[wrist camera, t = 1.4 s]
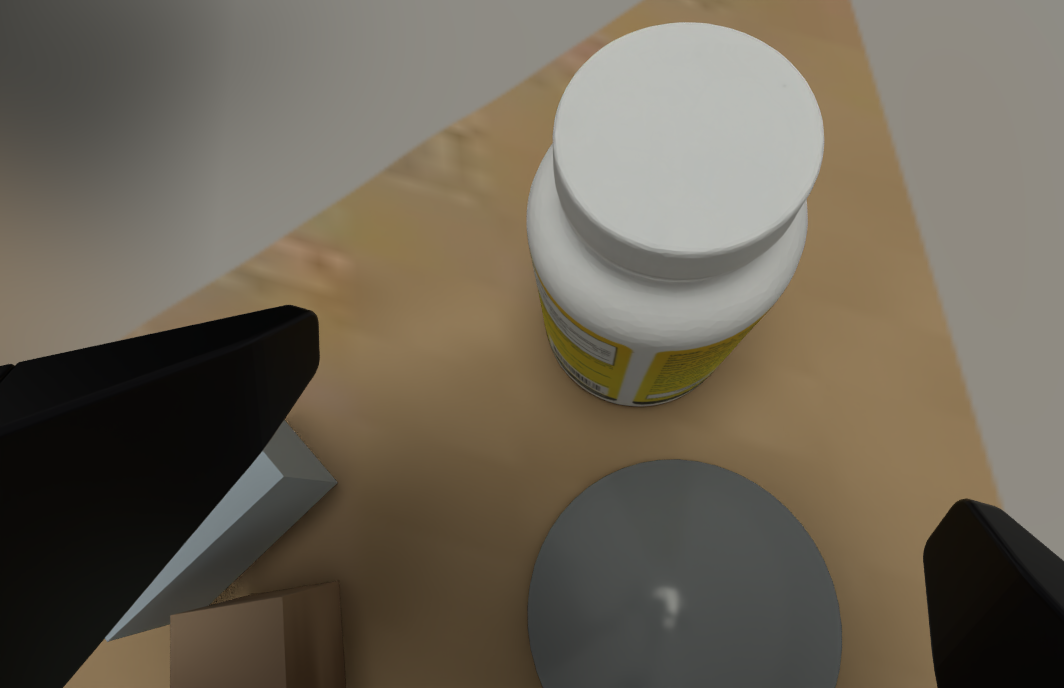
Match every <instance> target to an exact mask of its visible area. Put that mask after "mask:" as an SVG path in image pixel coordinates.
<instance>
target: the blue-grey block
mask: <svg viewBox="0 0 1064 688" xmlns="http://www.w3.org/2000/svg"><path fill="white" fill-rule="evenodd" d="M337 483H338V482H337V481H336V480H335V479H334V478H333V476H332V475H331V474H330V473H329V472H328V470H327V469H326V468H325V467H324V466H323V465H322V463H321V462H320V461H319V460H318V459H317V458H316V456H315V455H314V454H313V453H312V452H311V451H310V449H309V448H308V447H307V446H306V445H305V443H304V442H303V441H302V440H301V439H300V438H299V436H298V435H297V434H296V433H295V432H294V431H293V429H292V428H291V427H290V426H289V425H288V424H287V422H286V421H285V420H284V421H283V422H282V424H281V425H280V427H279V428H278V430H277V431H276V433H275V434H274V436H273V437H272V439H271V440H270V441H269V443H268V444H267V446H266V447H265V448H264V450H263V451H262V452H261V454H260V455H259V456H258V457H257V459H256V460H255V461H254V462H253V463H252V465H251V466H250V467H249V468H248V469H247V471H246V472H245V473H244V474H243V475H242V477H241V478H240V479H239V480H238V481H237V482H236V484H235V485H234V486H233V487H232V488H231V490H230V491H229V492H228V493H227V494H226V495H225V497H224V498H223V499H222V500H221V501H220V503H219V504H218V505H217V506H216V507H215V508H214V510H213V511H212V512H211V513H210V514H209V516H208V517H207V518H206V519H205V520H204V521H203V523H202V524H201V525H200V526H199V527H198V529H197V530H196V531H195V532H194V533H193V534H192V536H191V537H190V538H189V539H188V540H187V542H186V543H185V544H184V545H183V546H182V547H181V549H180V550H179V551H178V552H177V553H176V555H175V556H174V557H173V558H172V559H171V560H170V562H169V563H168V564H167V565H166V566H165V568H164V569H163V570H162V571H161V572H160V573H159V575H158V576H157V577H156V578H155V579H154V581H153V582H152V583H151V584H150V585H149V587H148V588H147V589H146V590H145V591H144V592H143V594H142V595H141V596H140V597H139V598H138V600H137V601H136V602H135V603H134V604H133V605H132V607H131V608H130V609H129V610H128V611H127V613H126V614H125V615H124V616H123V617H122V618H121V620H120V621H119V622H118V623H117V624H116V626H115V627H114V628H113V629H112V630H111V631H110V633H109V634H108V635H107V636H106V637H105V639H106V641H107V642H108V641H112V640H115V639H119V638H122V637H126V636H130V635H133V634H137V633H140V632H144V631H147V630H151V629H155V628H158V627H162V626H165V625H169V624H170V615H173V614H177V613H181V612H185V611H189V610H193V609H197V608H201V607H205V606H208V605H209V604H211V603H212V602H213V601H214V600H215V599H216V598H217V597H218V596H219V595H220V594H221V593H222V592H223V591H224V590H225V589H226V588H227V587H228V586H229V585H231V584H232V583H233V582H234V581H235V580H236V579H237V578H238V577H239V576H240V575H241V574H242V573H243V572H244V571H245V570H246V569H247V568H248V567H249V566H251V565H252V564H253V563H254V562H255V561H256V560H257V559H258V558H259V557H260V556H261V555H262V554H263V553H264V552H265V551H266V550H267V549H268V548H269V547H270V546H272V545H273V544H274V543H275V542H276V541H277V540H278V539H279V538H280V537H281V536H282V535H283V534H284V533H285V532H286V531H287V530H288V529H289V528H290V527H292V526H293V525H294V524H295V523H296V522H297V521H298V520H299V519H300V518H301V517H302V516H303V515H304V514H305V513H306V512H307V511H308V510H309V509H310V508H312V507H313V506H314V505H315V504H316V503H317V502H318V501H319V500H320V499H321V498H322V497H323V496H324V495H325V494H326V493H327V492H328V491H329V490H330V489H331V488H333V487H334V486H335V485H336V484H337Z"/></svg>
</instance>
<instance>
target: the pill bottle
mask: <svg viewBox="0 0 1064 688" xmlns="http://www.w3.org/2000/svg"><path fill="white" fill-rule="evenodd" d="M823 150H824V130H823V121H822V117H821V112H820V109H819V107H818V104H817V101H816V99H815V96H814V94H813V93H812V91H811V89H810V87H809V85H808V83H807V82H806V80H805V79H804V77H803V76H802V75H801V74H800V72H799V71H798V70H797V69H796V68H795V67H794V66H793V65H792V64H791V62H789V61H788V60H787V59H786V58H785V57H784V56H783V55H782V54H780V53H779V52H778V51H776V50H775V49H773V48H772V47H770V46H769V45H767V44H766V43H764V42H762V41H760V40H758V39H756V38H754V37H752V36H750V35H748V34H745V33H743V32H740V31H737V30H734V29H731V28H727V27H722V26H717V25H712V24H706V23H685V22H681V23H669V24H663V25H657V26H652V27H647V28H644V29H641V30H637V31H635V32H632V33H629V34H627V35H625V36H623V37H620V38H618V39H616V40H614V41H612V42H611V43H609V44H608V45H606V46H604V47H603V48H602V49H600V50H599V51H598V52H597V53H595V54H594V55H593V56H592V57H591V58H590V59H589V60H588V61H587V62H586V63H584V64H583V66H582V67H581V68H580V69H579V70H578V71H577V73H576V74H575V75H574V77H573V78H572V80H571V81H570V83H569V84H568V86H567V88H566V90H565V92H564V94H563V96H562V98H561V100H560V103H559V106H558V108H557V112H556V116H555V121H554V129H553V144H552V145H551V147H550V148H549V149H548V151H547V153H546V154H545V156H544V158H543V160H542V162H541V164H540V166H539V168H538V170H537V173H536V175H535V177H534V180H533V183H532V186H531V189H530V194H529V198H528V206H527V236H528V244H529V249H530V254H531V258H532V263H533V268H534V272H535V278H536V282H537V287H538V292H539V297H540V302H541V307H542V312H543V317H544V323H545V328H546V332H547V336H548V340H549V342H550V345H551V348H552V350H553V353H554V355H555V357H556V359H557V360H558V362H559V364H560V365H561V367H562V368H563V369H564V371H565V372H566V373H567V374H568V375H569V377H570V378H571V379H573V380H574V381H575V382H576V383H577V384H578V385H579V386H581V387H582V388H583V389H585V390H586V391H588V392H589V393H591V394H593V395H595V396H597V397H599V398H601V399H603V400H606V401H609V402H612V403H616V404H620V405H627V406H652V405H658V404H663V403H666V402H670V401H673V400H675V399H677V398H679V397H681V396H683V395H685V394H687V393H689V392H690V391H692V390H693V389H695V388H696V387H697V386H699V385H700V384H701V383H702V382H703V381H704V380H705V379H706V378H708V377H709V376H710V375H711V374H712V373H713V371H714V370H715V369H716V368H717V367H718V366H719V365H720V363H721V362H722V361H723V360H724V359H725V358H726V357H727V356H728V355H729V354H730V353H731V351H732V350H733V349H734V348H735V347H736V346H737V345H738V343H739V342H740V341H741V340H742V339H743V338H744V337H745V336H746V335H747V333H748V332H749V331H750V330H751V329H752V328H753V327H754V326H755V325H756V324H757V323H758V322H759V321H760V319H761V318H762V317H763V316H764V315H765V314H766V313H767V312H768V311H769V310H770V309H771V307H772V306H773V305H774V304H775V303H776V301H777V300H778V299H779V297H780V296H781V295H782V294H783V292H784V290H785V289H786V287H787V285H788V284H789V282H790V280H791V279H792V277H793V275H794V272H795V270H796V268H797V265H798V263H799V260H800V257H801V254H802V252H803V249H804V245H805V240H806V234H807V226H808V218H807V201H806V199H807V197H808V196H809V194H810V192H811V190H812V188H813V186H814V184H815V181H816V179H817V176H818V174H819V170H820V167H821V163H822V158H823Z"/></svg>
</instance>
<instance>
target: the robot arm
mask: <svg viewBox="0 0 1064 688" xmlns="http://www.w3.org/2000/svg"><path fill="white" fill-rule="evenodd" d="M319 360H320V351H319V323H318V318H317V315H316V314H315V313H314V312H313V311H311V310H307V309H304V308H300V307H297V306H293V305H284V306H279V307H275V308H270V309H265V310H261V311H256V312H251V313H247V314H242V315H237V316H233V317H228V318H223V319H218V320H214V321H209V322H204V323H200V324H195V325H190V326H186V327H181V328H176V329H172V330H167V331H162V332H158V333H153V334H148V335H144V336H139V337H134V338H130V339H125V340H120V341H116V342H111V343H106V344H102V345H97V346H92V347H88V348H83V349H78V350H74V351H69V352H65V353H60V354H55V355H51V356H46V357H41V358H36V359H32V360H27V361H23V362H19V363H17V364H16V365H15V366H14V365H13V364H7V365H3V366H0V688H63V687H64V686H65V685H66V683H67V682H68V681H69V680H70V679H71V678H72V676H73V675H74V674H75V673H76V672H77V670H78V669H79V668H80V667H81V666H82V665H83V663H84V662H85V661H86V660H87V659H88V657H89V656H90V655H91V654H92V653H93V652H94V650H95V649H96V648H97V647H98V646H99V644H100V643H101V642H102V641H103V640H104V639H105V637H106V636H107V635H108V634H109V633H110V631H111V630H112V629H113V628H114V627H115V626H116V624H117V623H118V622H119V621H120V620H121V618H122V617H123V616H124V615H125V614H126V613H127V611H128V610H129V609H130V608H131V607H132V605H133V604H134V603H135V602H136V601H137V600H138V598H139V597H140V596H141V595H142V594H143V592H144V591H145V590H146V589H147V588H148V587H149V585H150V584H151V583H152V582H153V581H154V579H155V578H156V577H157V576H158V575H159V573H160V572H161V571H162V570H163V569H164V568H165V566H166V565H167V564H168V563H169V562H170V560H171V559H172V558H173V557H174V556H175V555H176V553H177V552H178V551H179V550H180V549H181V547H182V546H183V545H184V544H185V543H186V542H187V540H188V539H189V538H190V537H191V536H192V534H193V533H194V532H195V531H196V530H197V529H198V527H199V526H200V525H201V524H202V523H203V521H204V520H205V519H206V518H207V517H208V516H209V514H210V513H211V512H212V511H213V510H214V508H215V507H216V506H217V505H218V504H219V503H220V501H221V500H222V499H223V498H224V497H225V495H226V494H227V493H228V492H229V491H230V490H231V488H232V487H233V486H234V485H235V484H236V482H237V481H238V480H239V479H240V478H241V477H242V475H243V474H244V473H245V472H246V471H247V469H248V468H249V467H250V466H251V465H252V463H253V462H254V461H255V460H256V459H257V457H258V456H259V455H260V454H261V452H262V451H263V450H264V448H265V447H266V446H267V444H268V443H269V441H270V440H271V439H272V437H273V436H274V434H275V433H276V431H277V430H278V428H279V427H280V425H281V424H282V422H283V421H284V419H285V418H286V416H287V415H288V413H289V412H290V410H291V409H292V407H293V406H294V404H295V403H296V401H297V400H298V399H299V397H300V396H301V394H302V393H303V391H304V390H305V388H306V387H307V385H308V384H309V382H310V381H311V379H312V378H313V376H314V375H315V373H316V371H317V368H318V365H319ZM923 563H924V573H925V584H926V594H927V605H928V615H929V626H930V636H931V647H932V656H933V663H934V671H935V676H936V681H937V687H938V688H1064V561H1063V560H1062V559H1060V558H1059V557H1058V556H1057V555H1056V554H1055V553H1053V552H1052V551H1051V550H1050V549H1049V548H1047V547H1046V546H1045V545H1044V544H1043V543H1041V542H1040V541H1039V540H1038V539H1036V538H1035V537H1034V536H1033V535H1032V534H1031V533H1029V532H1028V531H1027V530H1026V529H1025V528H1023V527H1022V526H1021V525H1020V524H1018V523H1017V522H1016V521H1015V520H1014V519H1012V518H1011V517H1010V516H1009V515H1008V514H1007V513H1005V512H1004V511H1003V510H1001V509H1000V508H998V507H995V506H992V505H988V504H985V503H981V502H978V501H974V500H971V499H961V500H959V501H957V502H956V503H955V504H954V505H953V506H952V507H951V508H950V510H949V511H948V513H947V514H946V515H945V517H944V518H943V519H942V521H941V522H940V523H939V525H938V526H937V528H936V529H935V530H934V532H933V533H932V534H931V536H930V537H929V539H928V540H927V542H926V545H925V548H924V553H923Z"/></svg>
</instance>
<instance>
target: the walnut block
mask: <svg viewBox="0 0 1064 688" xmlns="http://www.w3.org/2000/svg"><path fill="white" fill-rule="evenodd" d="M170 688H346V678H345V664H344V649H343V635H342V620H341V606H340V591H339V581H333V582H327V583H321V584H315V585H309V586H303V587H297V588H291V589H285V590H279V591H272V592H266V593H260V594H254V595H248V596H244V597H240V598H236V599H232V600H228V601H224V602H221V603H217V604H213V605H209V606H205V607H201V608H197V609H193V610H189V611H185V612H181V613H177V614H173V615H170Z"/></svg>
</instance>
